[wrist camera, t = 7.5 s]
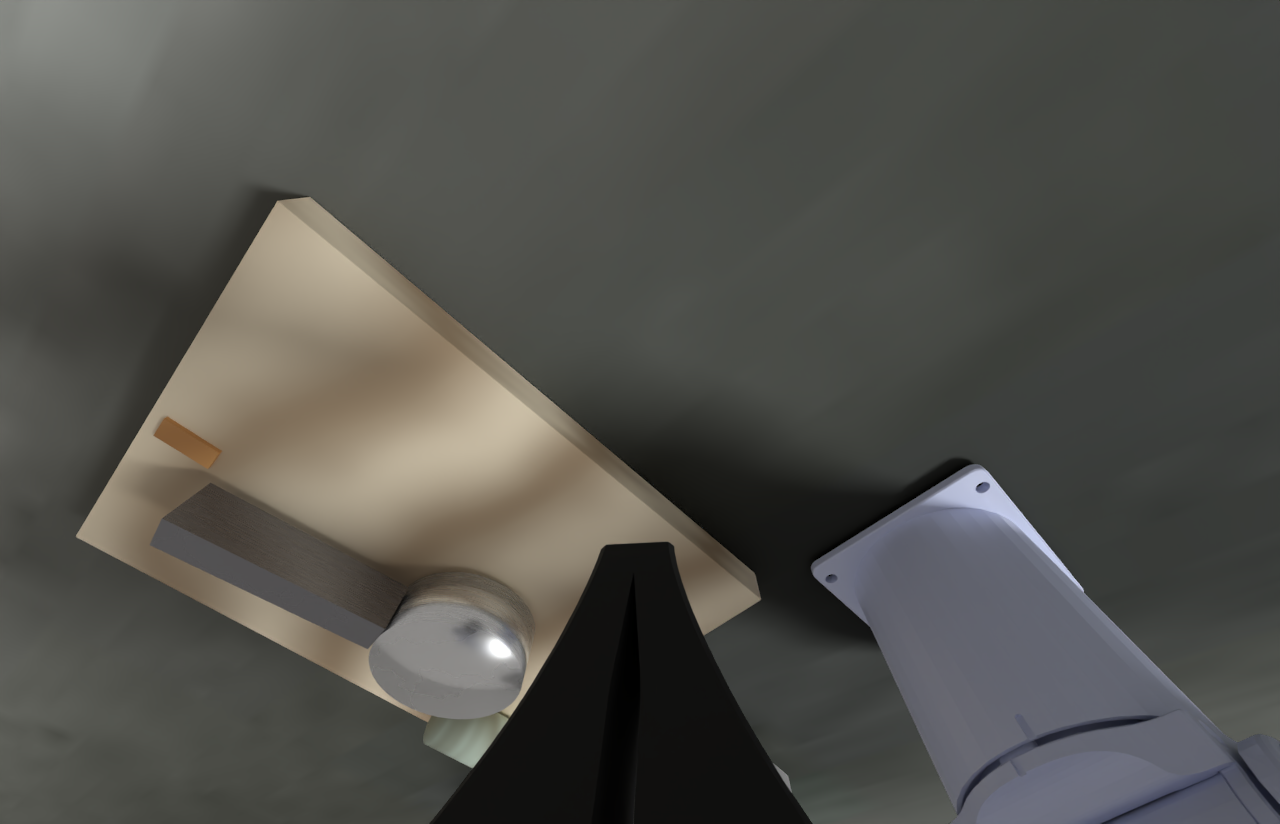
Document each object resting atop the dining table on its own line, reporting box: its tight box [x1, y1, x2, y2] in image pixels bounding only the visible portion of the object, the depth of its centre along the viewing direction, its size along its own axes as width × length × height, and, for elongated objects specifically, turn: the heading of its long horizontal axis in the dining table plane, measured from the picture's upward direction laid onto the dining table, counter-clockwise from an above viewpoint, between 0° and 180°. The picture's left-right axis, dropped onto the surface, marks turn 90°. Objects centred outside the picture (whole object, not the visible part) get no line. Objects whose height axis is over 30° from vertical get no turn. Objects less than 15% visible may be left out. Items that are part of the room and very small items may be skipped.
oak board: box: [76, 197, 761, 768], centre depth 20 cm, size 22×18×4 cm
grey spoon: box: [150, 483, 535, 719], centre depth 19 cm, size 14×6×2 cm, turn 50°
